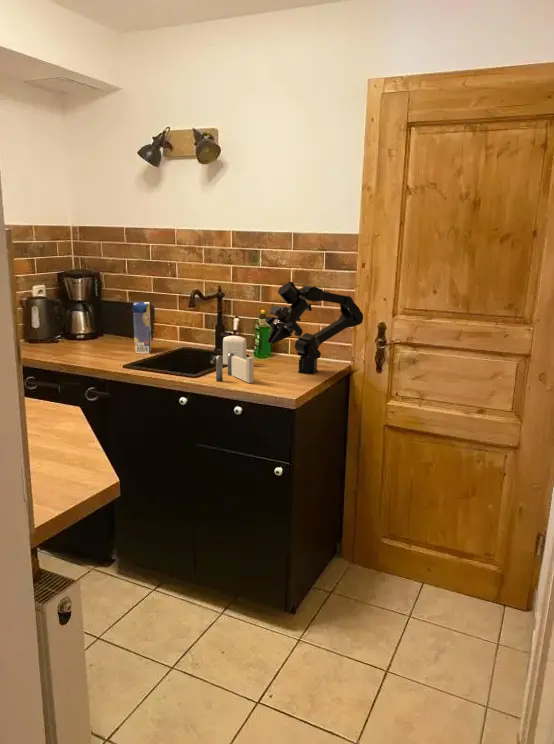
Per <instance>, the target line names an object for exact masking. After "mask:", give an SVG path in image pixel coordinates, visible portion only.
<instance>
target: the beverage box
mask: <svg viewBox="0 0 554 744" xmlns="http://www.w3.org/2000/svg"><path fill="white" fill-rule="evenodd" d="M132 316H133V317H132V321H133V343H134V344H133V345H134V354H135V353H140V354H151V351H152V349H151V348H152V328H151V327H152V325H151V302H149V301H140V302H139V301H136V302H133V304H132Z"/></svg>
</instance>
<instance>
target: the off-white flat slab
mask: <svg viewBox="0 0 554 744" xmlns="http://www.w3.org/2000/svg"><path fill="white" fill-rule="evenodd" d="M254 360H255V359H254V357H252V356H246V360H245V359H242V358H240V357H237V356H232V375H231V377H235V378H237V379H240V380H242V381H244V382H246V383H248V384H252V383H254V373H255V371H254V370H255V369H254V368H255V364H254V363H255V361H254Z"/></svg>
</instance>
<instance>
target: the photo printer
mask: <svg viewBox="0 0 554 744" xmlns="http://www.w3.org/2000/svg"><path fill="white" fill-rule="evenodd" d="M228 353H234V356H237V357H240V358H242V359H245V360H246V358H247V339H246V338H245V337H243V336H238V335H228V336H227V335H226V336H225V337H223V339H222V357H223V365H227V366H228Z"/></svg>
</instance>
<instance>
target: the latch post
mask: <svg viewBox="0 0 554 744" xmlns="http://www.w3.org/2000/svg"><path fill="white" fill-rule="evenodd" d="M223 365H224V364H223V355H215V368H216V369H215V380H216V382H223V381H224V379H223V377H224V375H223V374H224V373H223Z"/></svg>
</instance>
